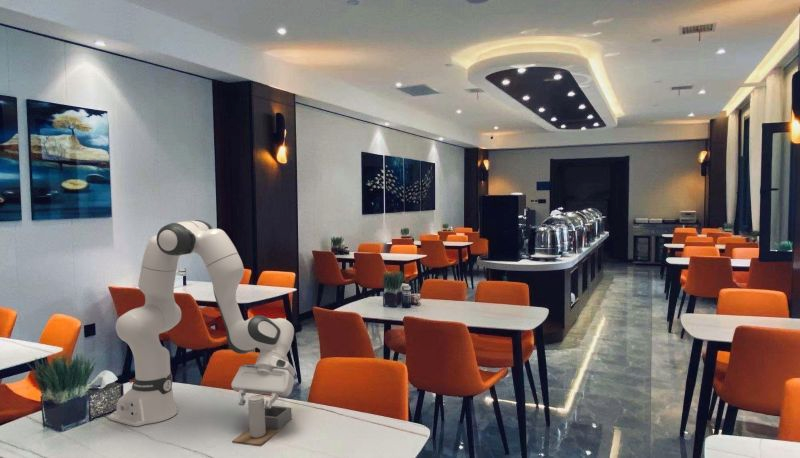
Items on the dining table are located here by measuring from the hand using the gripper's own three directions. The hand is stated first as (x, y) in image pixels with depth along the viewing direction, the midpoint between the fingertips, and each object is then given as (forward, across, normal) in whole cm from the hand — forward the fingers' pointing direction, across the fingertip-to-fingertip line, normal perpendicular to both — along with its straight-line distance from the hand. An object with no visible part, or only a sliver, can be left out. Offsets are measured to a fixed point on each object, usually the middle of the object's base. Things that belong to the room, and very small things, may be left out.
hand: (253, 406), depth 166 cm
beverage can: (+6, +1, +7) cm, 10 cm away
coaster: (+7, 0, +7) cm, 10 cm away
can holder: (0, 0, +14) cm, 15 cm away
